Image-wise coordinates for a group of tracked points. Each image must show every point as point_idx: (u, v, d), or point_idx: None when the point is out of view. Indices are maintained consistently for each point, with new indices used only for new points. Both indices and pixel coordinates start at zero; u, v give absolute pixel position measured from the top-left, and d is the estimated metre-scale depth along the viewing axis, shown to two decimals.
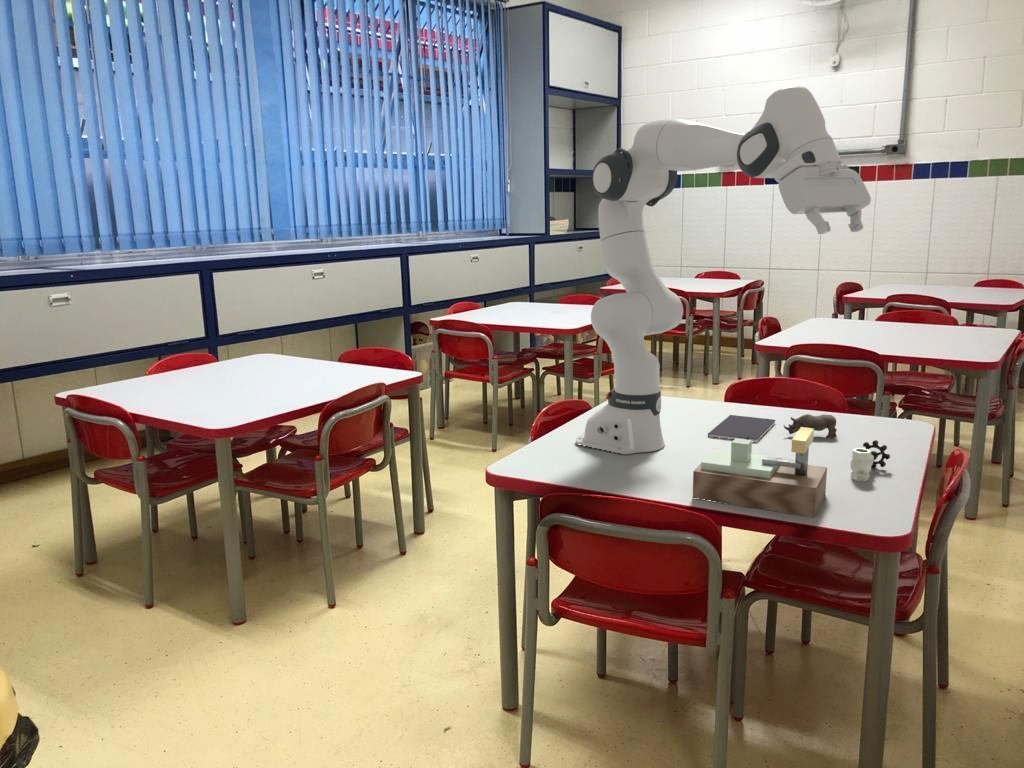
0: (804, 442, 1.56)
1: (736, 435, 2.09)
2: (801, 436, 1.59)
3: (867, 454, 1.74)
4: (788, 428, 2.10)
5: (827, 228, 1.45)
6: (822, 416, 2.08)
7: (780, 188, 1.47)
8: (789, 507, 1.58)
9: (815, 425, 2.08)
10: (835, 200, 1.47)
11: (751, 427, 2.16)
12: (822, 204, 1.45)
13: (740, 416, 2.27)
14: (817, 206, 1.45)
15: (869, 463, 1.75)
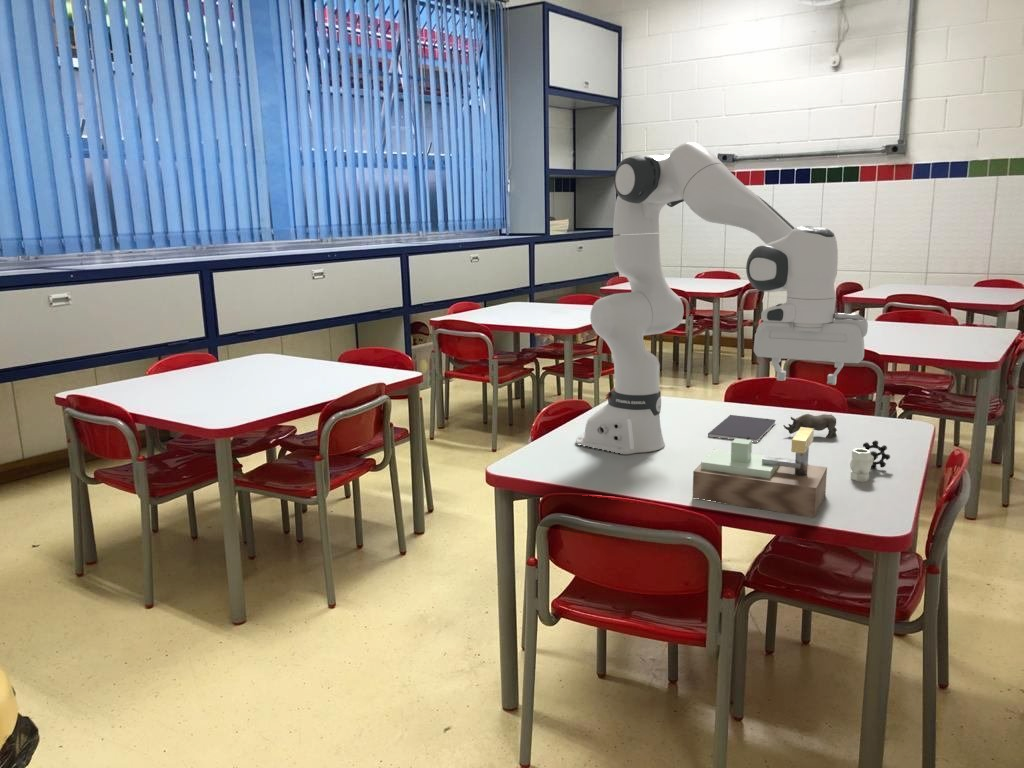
0: (804, 442, 1.56)
1: (736, 435, 2.09)
2: (801, 436, 1.59)
3: (867, 454, 1.74)
4: (788, 428, 2.10)
5: (779, 379, 1.60)
6: (822, 416, 2.08)
7: None
8: (789, 507, 1.58)
9: (815, 425, 2.08)
10: (800, 356, 1.57)
11: (751, 427, 2.16)
12: (780, 357, 1.59)
13: (740, 416, 2.27)
14: (775, 358, 1.60)
15: (869, 463, 1.75)
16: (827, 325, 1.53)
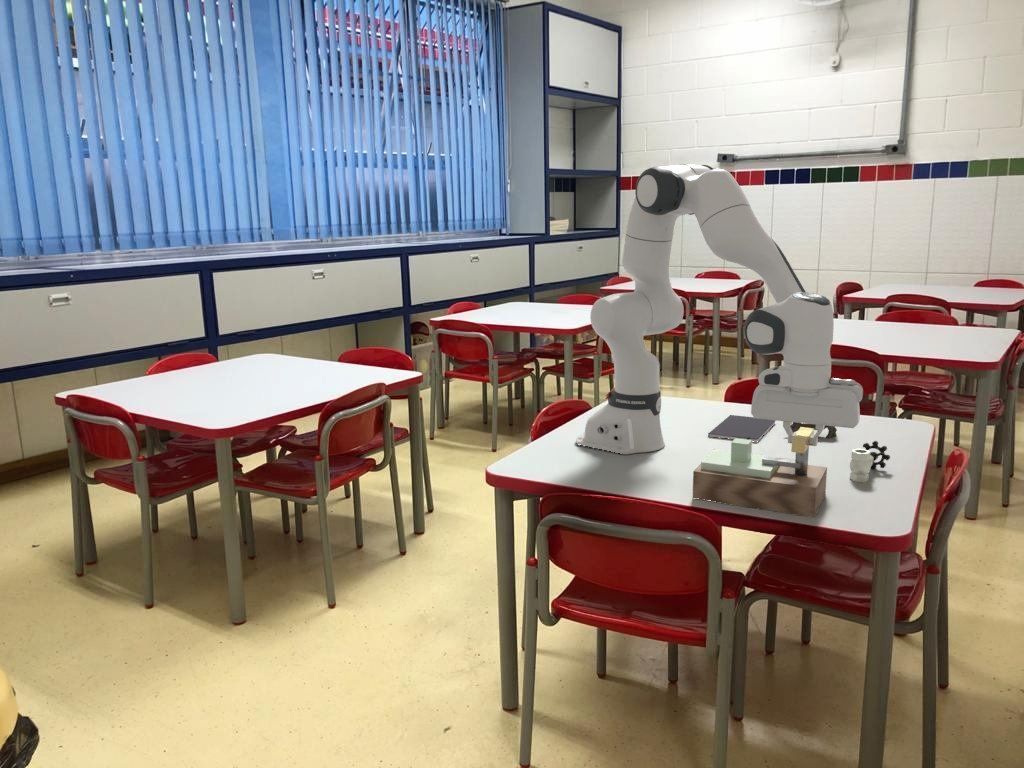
0: (804, 442, 1.56)
1: (736, 435, 2.09)
2: (801, 436, 1.59)
3: (866, 455, 1.74)
4: None
5: (790, 441, 1.62)
6: None
7: None
8: (789, 507, 1.58)
9: (815, 425, 2.08)
10: (797, 419, 1.59)
11: (751, 427, 2.16)
12: (777, 420, 1.61)
13: (740, 416, 2.27)
14: None
15: (868, 464, 1.75)
16: (823, 390, 1.56)
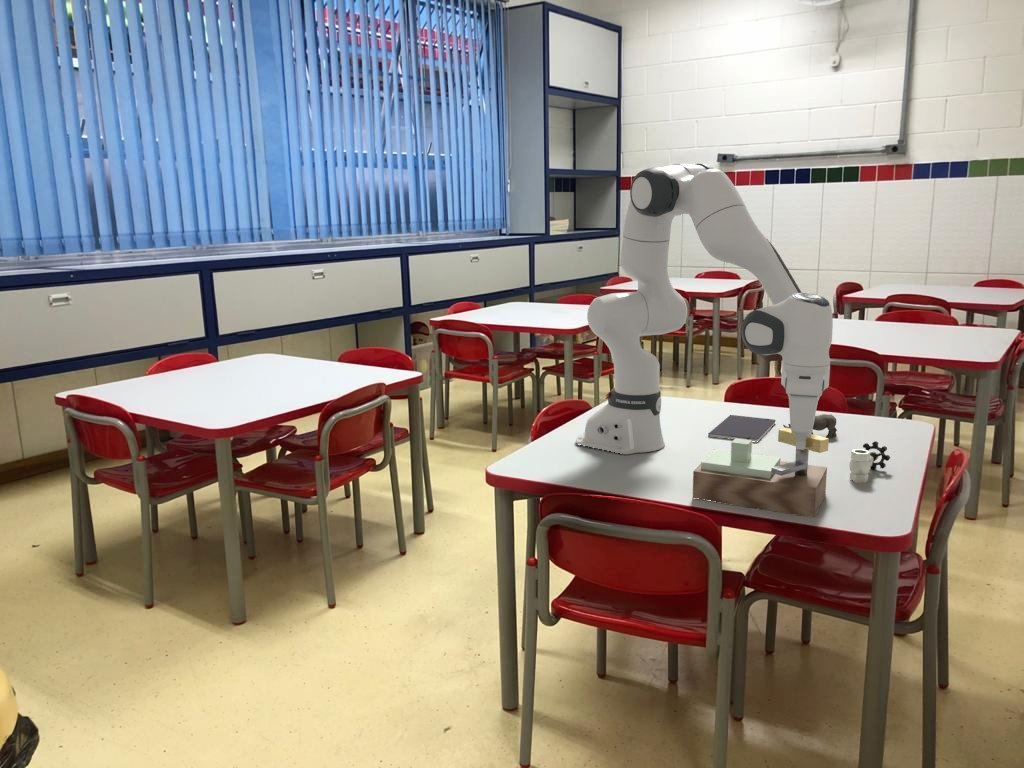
0: (827, 440, 1.58)
1: (736, 435, 2.09)
2: (812, 436, 1.59)
3: (866, 455, 1.74)
4: (788, 427, 2.10)
5: None
6: (822, 416, 2.08)
7: (792, 406, 1.52)
8: (789, 507, 1.58)
9: (815, 425, 2.08)
10: None
11: (751, 427, 2.16)
12: None
13: (740, 416, 2.27)
14: None
15: (868, 464, 1.74)
16: None
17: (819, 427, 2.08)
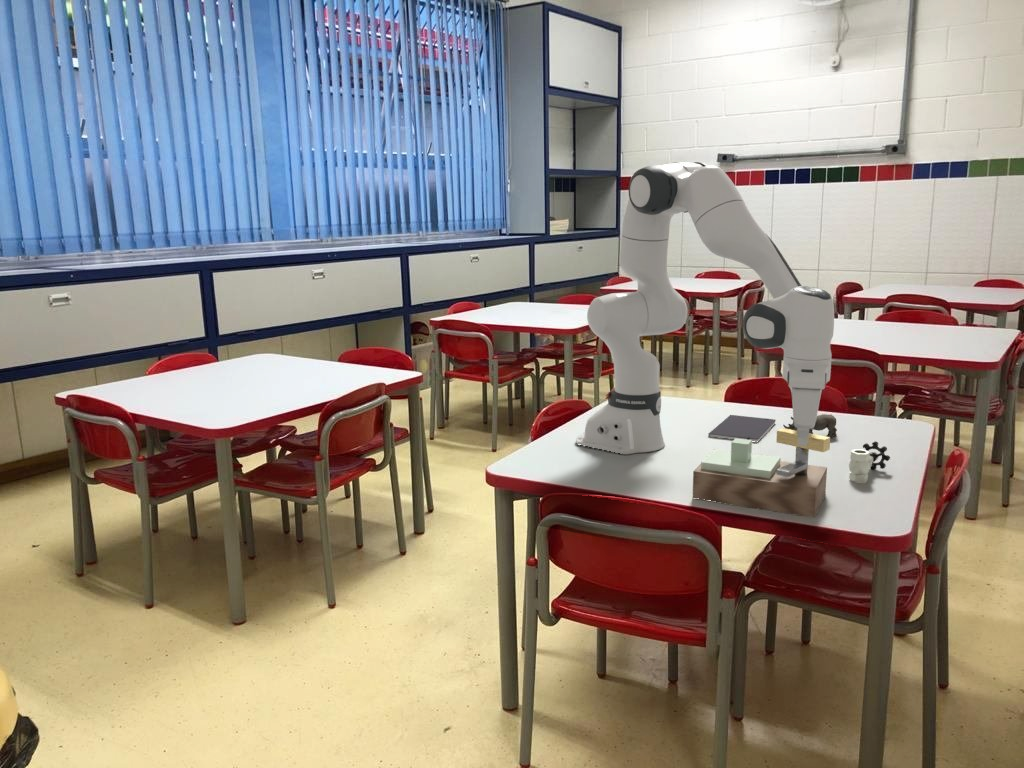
0: (829, 439, 1.58)
1: (736, 435, 2.09)
2: (813, 435, 1.60)
3: (865, 455, 1.74)
4: (788, 427, 2.10)
5: None
6: (822, 416, 2.08)
7: (795, 399, 1.51)
8: (789, 507, 1.58)
9: (815, 425, 2.08)
10: None
11: (751, 427, 2.16)
12: None
13: (740, 416, 2.27)
14: None
15: (867, 464, 1.74)
16: None
17: (819, 427, 2.08)
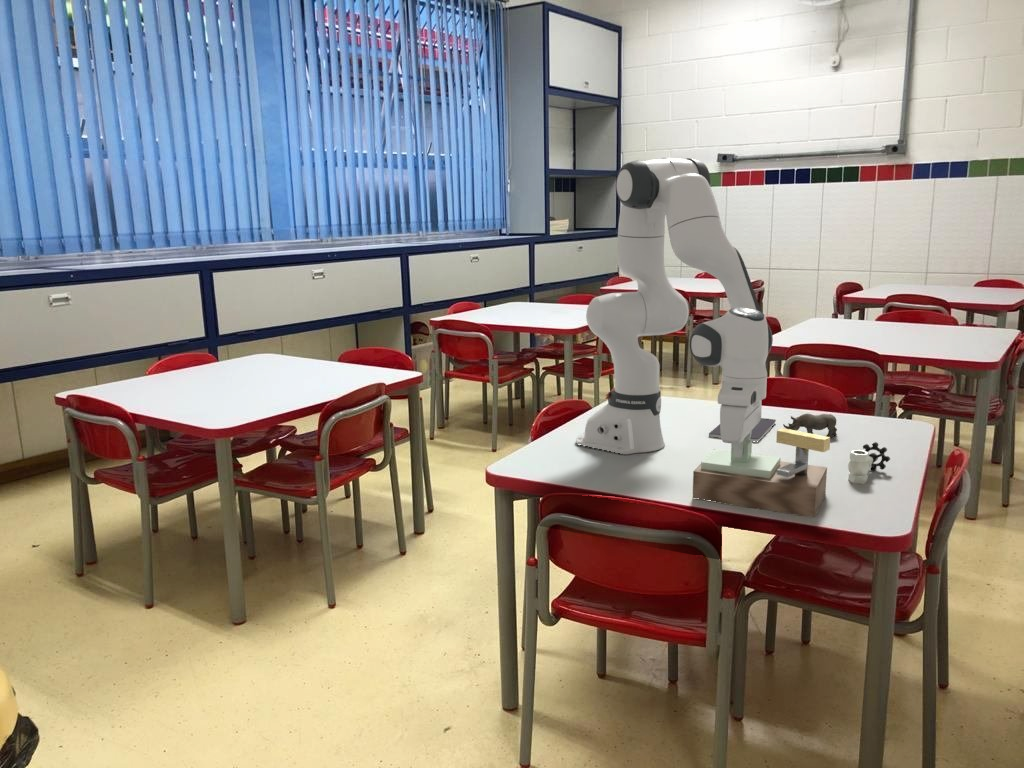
0: (829, 438, 1.58)
1: None
2: (813, 435, 1.60)
3: (864, 456, 1.73)
4: (788, 427, 2.11)
5: (742, 455, 1.65)
6: (822, 415, 2.09)
7: (722, 415, 1.59)
8: (789, 507, 1.58)
9: (815, 425, 2.08)
10: (750, 430, 1.65)
11: None
12: (744, 437, 1.62)
13: None
14: None
15: (867, 465, 1.74)
16: None
17: (819, 427, 2.08)
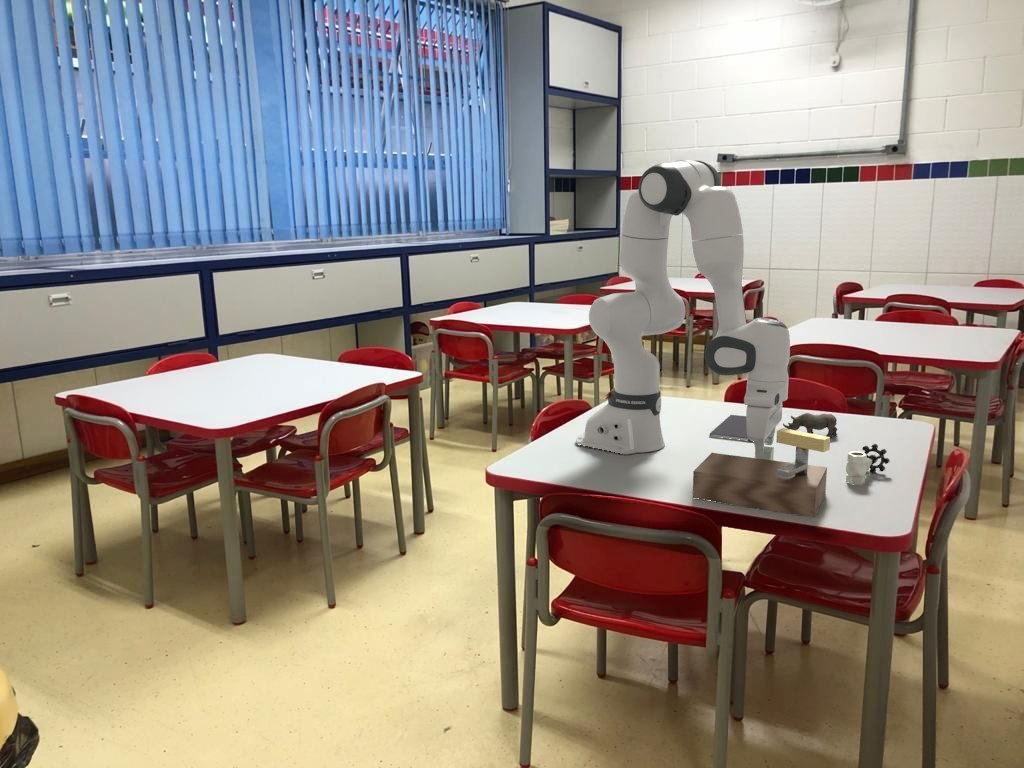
0: (829, 438, 1.58)
1: (737, 435, 2.09)
2: (813, 435, 1.60)
3: (862, 458, 1.72)
4: (787, 426, 2.11)
5: (763, 454, 1.80)
6: (822, 415, 2.09)
7: (748, 415, 1.75)
8: (789, 507, 1.58)
9: (814, 424, 2.08)
10: (772, 428, 1.81)
11: None
12: (768, 435, 1.78)
13: (741, 416, 2.27)
14: None
15: (864, 467, 1.73)
16: None
17: (819, 426, 2.08)
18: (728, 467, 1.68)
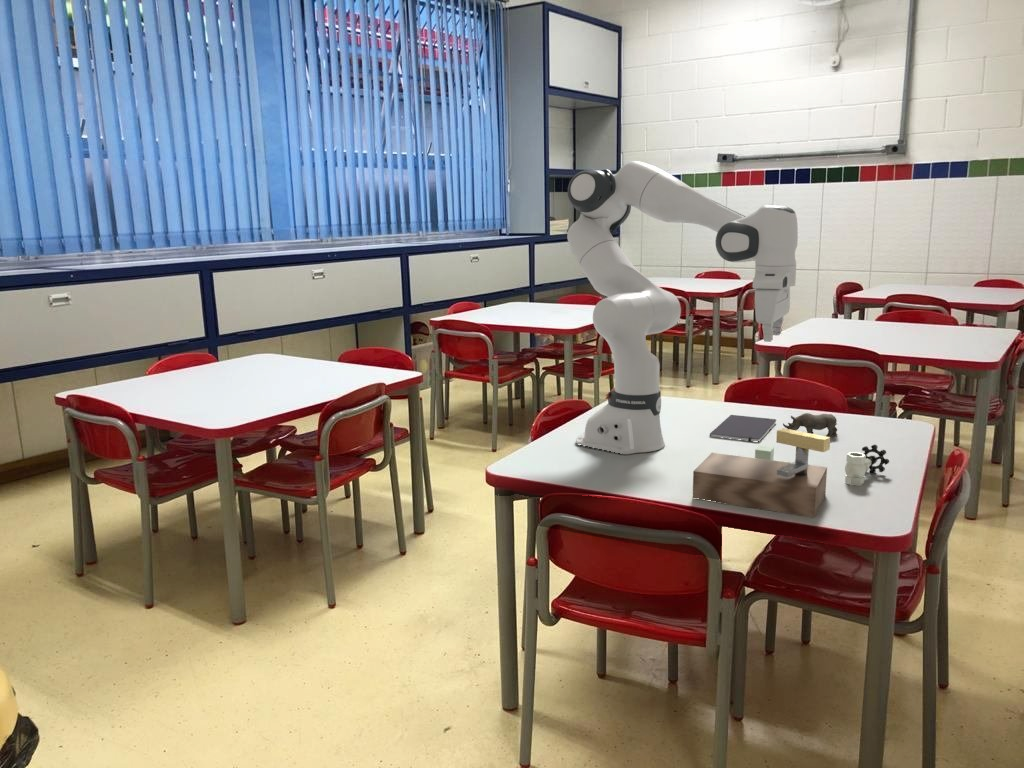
0: (829, 438, 1.58)
1: (737, 435, 2.09)
2: (813, 435, 1.60)
3: (861, 458, 1.72)
4: (787, 426, 2.11)
5: (771, 339, 1.82)
6: (822, 415, 2.09)
7: (756, 298, 1.77)
8: (789, 507, 1.58)
9: (814, 424, 2.09)
10: (780, 315, 1.83)
11: (752, 427, 2.16)
12: (776, 320, 1.80)
13: (741, 416, 2.27)
14: None
15: (863, 467, 1.72)
16: None
17: (818, 426, 2.08)
18: (728, 467, 1.68)
